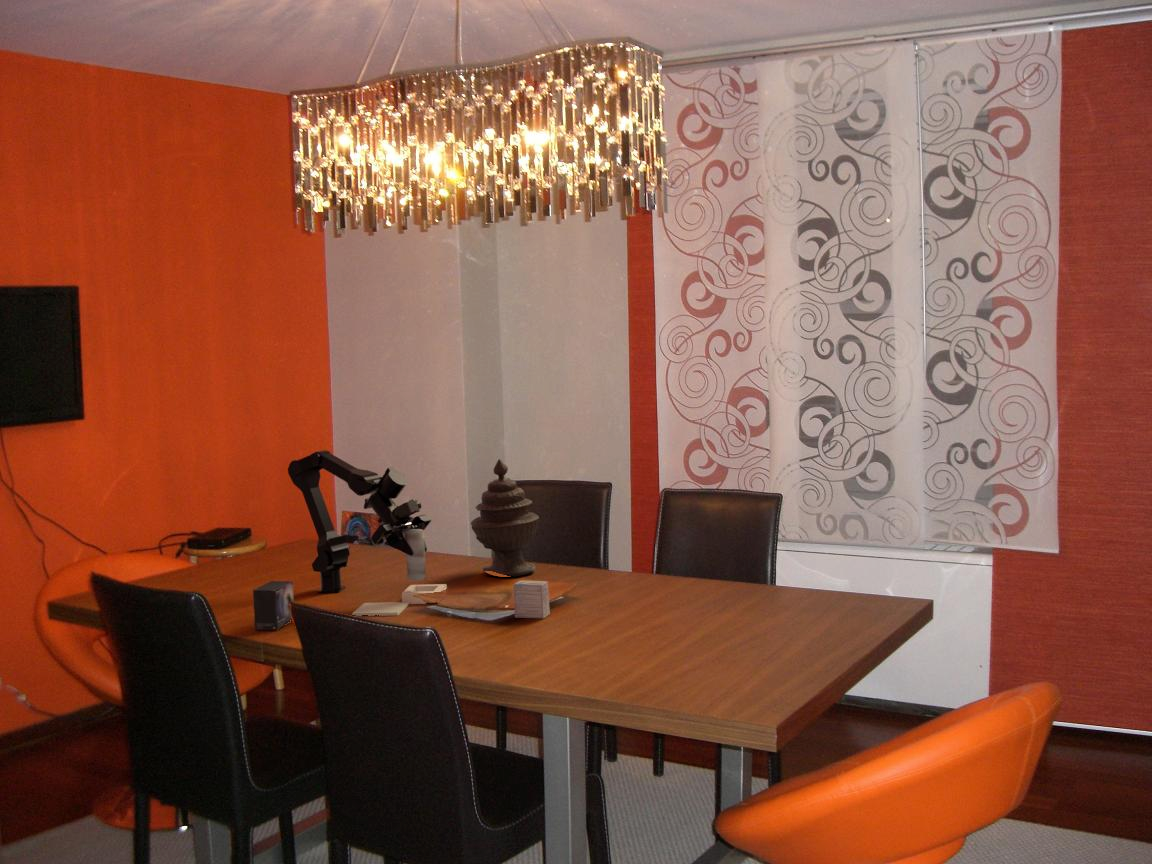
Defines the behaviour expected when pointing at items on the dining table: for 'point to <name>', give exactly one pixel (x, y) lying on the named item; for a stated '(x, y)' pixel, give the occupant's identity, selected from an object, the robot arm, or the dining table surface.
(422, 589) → the pocket block
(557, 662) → the dining table surface
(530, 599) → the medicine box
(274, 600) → the small box
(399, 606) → the pad
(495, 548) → the decorative urn
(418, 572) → the peg
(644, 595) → the dining table surface
